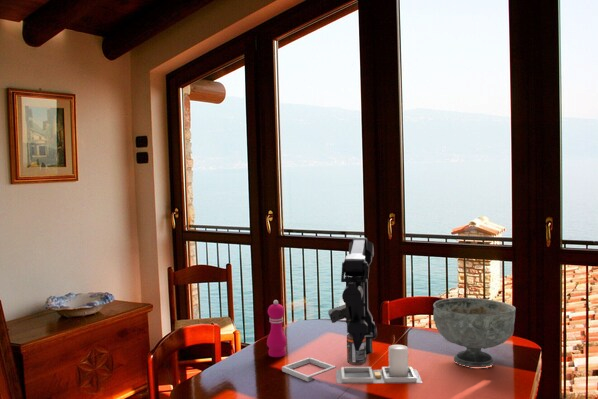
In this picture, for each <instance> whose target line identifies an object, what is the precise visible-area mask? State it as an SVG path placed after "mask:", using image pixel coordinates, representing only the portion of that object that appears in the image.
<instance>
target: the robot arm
mask: <svg viewBox="0 0 598 399" xmlns="http://www.w3.org/2000/svg"><path fill="white" fill-rule="evenodd" d="M348 244H349V245H348V246H349V247H348V253H349V254H348V255H345V257H344V261H342V263H341V278H340V279H341V280H340V282H341V283H345V288H344V289H343V291H342V296H341V297H342V298H341V299H342V301H343V303H344V304H342V305H339V306H336V307H333V308H331V309H329V310H328V316H329V320H330V321H331V323H332V324H335V323H337V322H338V321H340V320H343V319H345V323H346V333H347V334H349V333H350V334H351V335H352V338H353V342H354V347H355V350H356V351H359V349H360V346H361V344H362V341H363V339H364V337H366V356H367V355H369V354H372V353H375V351H374V350H373V340H375V339H376V338H377V336H378V330H377V325H376V324H375V321H373V319H374V318H373V315H372V313H371V311H370V310H369V281H368V280H369V279H370V278H369V276H370V275H369V274H370V265H371V263H372V262H373V257H374V256H375V252H374V251H375V250H374V243H373V242H371V241H369V240H368V237H364V236H363V237H361V236H360V237H359V236H355V237H353V238H352V239H351V241H350V242H349V243H348Z"/></svg>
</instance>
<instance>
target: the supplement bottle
mask: <svg viewBox="0 0 598 399" xmlns="http://www.w3.org/2000/svg"><path fill="white" fill-rule="evenodd" d="M346 360H347V361H346V362H347V363H348V365H350V366H354V367H361V366H363V365H365V364H366V362H367V355H366V337H364V339H363V341H362V344H361V346H360V349H359V351H356V350H355V347H354V342H353V338H352V335H351V334H350V333H347V335H346Z"/></svg>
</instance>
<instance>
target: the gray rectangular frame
mask: <svg viewBox="0 0 598 399" xmlns="http://www.w3.org/2000/svg"><path fill="white" fill-rule="evenodd" d="M335 379H336V384H423V381H422V378H421V376H420V373H419V372H418V369H414V368H413V367H412V366H408V377H389V366H381V369H372V366H341V367H340V369H336V370H335Z"/></svg>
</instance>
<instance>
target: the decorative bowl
mask: <svg viewBox="0 0 598 399" xmlns="http://www.w3.org/2000/svg"><path fill="white" fill-rule="evenodd" d="M432 306H433V316H432V318H433V321H434V325H435V327H436V330H437V331H438V333H439V334H440V336H442V337H443V338H444V339H445V340H447V342H449V343H452V344H454V345H457V346H460V347H463V348H464V347H465V349H466V350H461V351H459V352H458V353H455V355H454V356H453V362H454V361H455V362H457V363H458V364H461V365H465V366H469V367H486V366H490V365H492V364H493V363H494V358H493V356H492V355H491V354H489V353H488V352H485V351H482V349H488V348H489V349H490V348H494V347H497V346H499V345H501V344H504V343H505V342H507V341H508V340H509V339H510V338H511V337H512V336H513V335H514V330H515V323H516V322H515V321H516V320H515V319H516V306H514V305H512V304H510V303H507V302H501V301H499V300H492V299H486V298H475V297H452V298H451V297H449V298H443V299H439V300H436V301H435V302H434V303H433V305H432ZM455 362H454V363H455ZM458 364H457V365H458ZM493 365H494V364H493Z"/></svg>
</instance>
